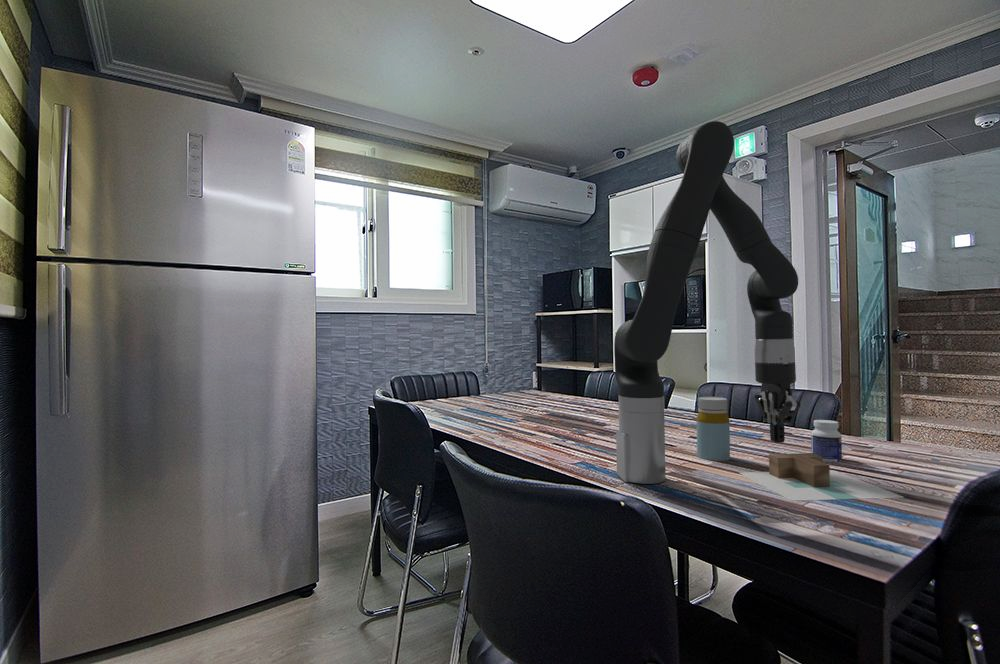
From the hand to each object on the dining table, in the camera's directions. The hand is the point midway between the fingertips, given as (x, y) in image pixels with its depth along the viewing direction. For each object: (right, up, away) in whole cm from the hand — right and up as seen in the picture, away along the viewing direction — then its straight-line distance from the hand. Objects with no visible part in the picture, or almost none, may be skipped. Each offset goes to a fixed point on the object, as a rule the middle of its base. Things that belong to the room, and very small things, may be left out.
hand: (777, 441), depth 105 cm
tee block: (0, -5, -9) cm, 11 cm away
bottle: (-10, -7, +9) cm, 15 cm away
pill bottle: (+14, -7, +6) cm, 17 cm away
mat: (0, -7, -12) cm, 14 cm away
